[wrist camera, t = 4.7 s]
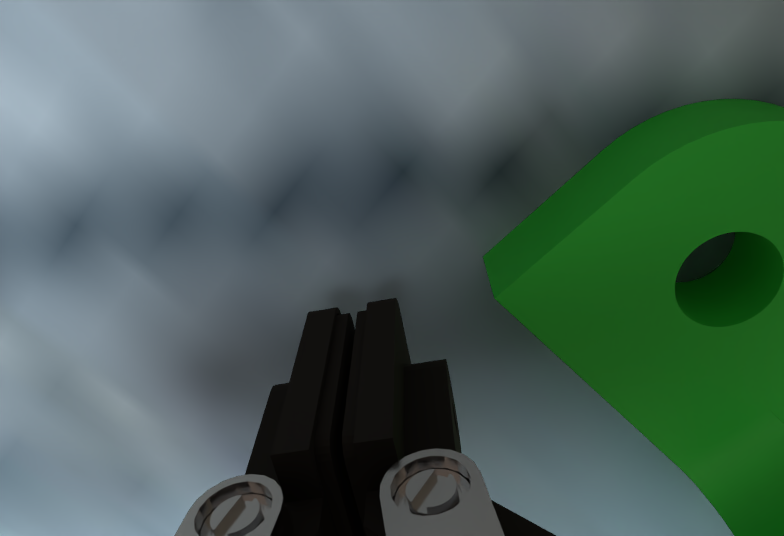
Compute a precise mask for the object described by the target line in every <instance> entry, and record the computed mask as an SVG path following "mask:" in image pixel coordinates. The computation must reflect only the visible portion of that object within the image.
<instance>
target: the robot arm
mask: <svg viewBox="0 0 784 536" xmlns="http://www.w3.org/2000/svg"><path fill="white" fill-rule="evenodd" d="M174 536H556V535H554V534H552V533H550V532H548V531H547V530H545V529H543V528H541V527H539V526H537V525H536V524H534V523H532V522H530V521H528V520H527V519H525V518H523V517H521V516H519V515H517V514H516V513H514V512H512V511H510V510H508V509H506V508H505V507H503V506H501V505H499V504H497V503H496V502H494V501H492V500H491V498H490V496H489V493H488V490H487V488H486V485H485V482H484V480H483V477H482V474H481V472H480V470H479V469H478V467H477V466H476V464H475V462H474V461H472V460H471V459H470V458H468V457H467V456H466V455H464V454H462V453H461V445H460V437H459V430H458V423H457V416H456V410H455V404H454V398H453V392H452V387H451V381H450V376H449V371H448V365H447V361H446V359H444V360H437V361H430V362H424V363H417V364H411V361H410V356H409V351H408V347H407V342H406V337H405V332H404V327H403V323H402V318H401V313H400V308H399V304H398V301H397V298H393V299H387V300H381V301H375V302H369V303H368V304H367V310H366V311H360V312H358V313H357V320H356V328H354V324H353V320H352V317H351V314H350V313H347V314H341V313H340V310H339V309H338V307H337V308H331V309H325V310H319V311H313V312H309V313H308V315H307V319H306V322H305V326H304V330H303V334H302V337H301V341H300V345H299V348H298V352H297V356H296V360H295V363H294V367H293V371H292V375H291V378H290V382H289V383H285V384H278V385H275V386H273V387H272V390H271V392H270V395H269V398H268V401H267V405H266V408H265V411H264V414H263V418H262V421H261V424H260V428H259V431H258V434H257V437H256V441H255V444H254V447H253V450H252V454H251V457H250V460H249V463H248V467H247V470H246V473H245V475H241V476H236V477H233V478H230V479H228V480H225V481H222V482H220V483H219V484H217V485H215V486H214V487H212V488H210V489H208V490H207V491H206V492H205V493H204V494H203V495H202V496H200V497H199V498H198V499H197V500H196V501H195V503H194V504H193V505H192V507H191V508H190V509H189V511H188V512H187V514H186V516H185V518H184V519H183V521H182V523H181V525H180V527H179V528H178V530H177V532H176V534H175V535H174Z"/></svg>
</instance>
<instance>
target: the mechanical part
mask: <svg viewBox="0 0 784 536" xmlns="http://www.w3.org/2000/svg"><path fill="white" fill-rule="evenodd" d="M731 232H735V238H734V243H733V246H732V248H731V251H730V253H729V254H728V256H727V257H726V259H725V260H724V261H723V262H722V264H721V265H720V266H719V267H717V268H716V269H715V270H714V271H712V272H711V273H709V274H708V275H706V276H704V277H702V278H699V279H697V280H693V281H689V282H676V277H677V274H678V272H679V269H680V267H681V265H682V264H683V262H684V261H685V259H686V258H687V257H688V256H689V255H690V254H691V253H692V252H693V251H694V250H695V249H696V248H697V247H698V246H700V245H701V244H703V243H704V242H706V241H708V240H709V239H712V238H714V237H716V236H719V235H722V234H726V233H731ZM483 259H484V263H485V267H486V270H487V274H488V277H489V281H490V285H491V288H492V292H493V295H494V299H495V300H497V301H498V302H499V303H500V304H501V305H502V306H503V307H504V308H505V309H506V310H508V311H509V312H510V313H511V314H512V315H513V316H514V317H515V318H516V319H517V320H518V321H520V322H521V323H522V324H523V325H524V326H525V327H526V328H527V329H528V330H529V331H530V332H532V333H533V334H534V335H535V336H536V337H537V338H538V339H539V340H540V341H541V342H542V343H544V344H545V345H546V346H547V347H548V348H549V349H550V350H551V351H552V352H553V353H554V354H556V355H557V356H558V357H559V358H560V359H561V360H562V361H563V362H564V363H565V364H567V365H568V366H569V367H570V368H571V369H572V370H573V371H574V372H575V373H576V374H577V375H579V376H580V377H581V378H582V379H583V380H584V381H585V382H586V383H587V384H588V385H589V386H591V387H592V388H593V389H594V390H595V391H596V392H597V393H598V394H599V395H600V396H601V397H603V398H604V399H605V400H606V401H607V402H608V403H609V404H610V405H611V406H612V407H613V408H615V409H616V410H617V411H618V412H619V413H620V414H621V415H622V416H623V417H624V418H626V419H627V420H628V421H629V422H630V423H631V424H632V425H633V426H634V427H635V428H636V429H638V430H639V431H640V432H641V433H642V434H643V435H644V436H645V437H646V438H647V439H648V440H650V441H651V442H652V443H653V444H654V445H655V446H656V447H657V448H658V449H659V450H660V451H662V452H663V453H664V454H665V455H666V456H667V457H668V458H669V459H670V460H671V461H672V462H674V463H675V464H676V465H677V466H678V467H679V468H680V469H681V470H682V471H683V472H684V473H685V474H686V475H687V476H688V477H689V478H690V479H691V480H692V481H693V482H694V483H695V485H696V486H697V487H698V488H699V489H700V490H701V492H702V493H703V494H704V495H705V496H706V498H707V499H708V500H709V501H710V503H711V504H712V505H713V506H714V508H715V509H716V510H717V512H718V513H719V514H720V516H721V517H722V518H723V520H724V521H725V523H726V524H727V525H728V527H729V528H730V530H731V531H732V533H733V534H734V536H784V107H781V106H778V105H775V104H771V103H766V102H761V101H756V100H745V99H719V100H711V101H702V102H698V103H693V104H689V105H685V106H681V107H678V108H675V109H672V110H669V111H666V112H664V113H662V114H659V115H657V116H655V117H652V118H650V119H648V120H646V121H644V122H643V123H641V124H639V125H637V126H635V127H633V128H632V129H630V130H629V131H627V132H626V133H624V134H623V135H621V136H620V137H618V138H617V139H616V140H615V141H613V142H612V143H611V144H610V145H608V146H607V147H606V148H605V149H603V150H602V151H601V152H600V153H599V154H598V155H597V156H596V157H594V158H593V159H592V160H591V161H590V162H589V163H588V164H587V165H585V166H584V167H583V168H582V169H581V170H580V171H579V172H578V173H576V174H575V175H574V176H573V177H572V178H571V179H570V180H569V181H567V182H566V183H565V184H564V185H563V186H562V187H561V188H560V189H558V190H557V191H556V192H555V193H554V194H553V195H552V196H551V197H549V198H548V199H547V200H546V201H545V202H544V203H543V204H542V205H540V206H539V207H538V208H537V209H536V210H535V211H534V212H533V213H531V214H530V215H529V216H528V217H527V218H526V219H525V220H524V221H522V222H521V223H520V224H519V225H518V226H517V227H516V228H515V229H514V230H512V231H511V232H510V233H509V234H508V235H507V236H506V237H505V238H503V239H502V240H501V241H500V242H499V243H498V244H497V245H496V246H494V247H493V248H492V249H491V250H490V251H489V252H488V253H487V254H485V255H484V256H483Z"/></svg>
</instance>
